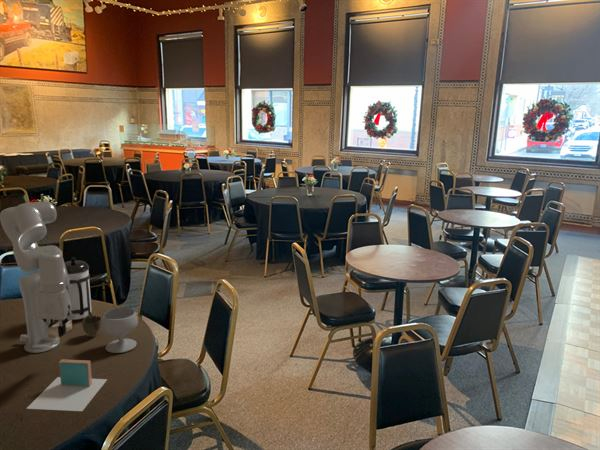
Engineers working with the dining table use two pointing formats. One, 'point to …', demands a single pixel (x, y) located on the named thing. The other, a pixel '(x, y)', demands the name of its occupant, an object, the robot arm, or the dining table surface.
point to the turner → (52, 335)
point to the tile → (75, 373)
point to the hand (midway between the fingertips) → (57, 334)
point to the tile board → (66, 396)
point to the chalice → (120, 328)
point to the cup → (91, 325)
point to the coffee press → (79, 288)
